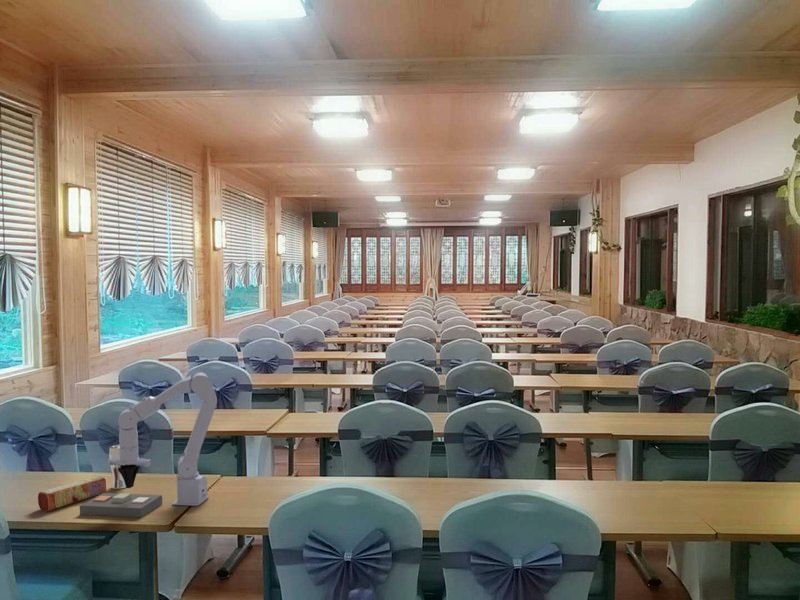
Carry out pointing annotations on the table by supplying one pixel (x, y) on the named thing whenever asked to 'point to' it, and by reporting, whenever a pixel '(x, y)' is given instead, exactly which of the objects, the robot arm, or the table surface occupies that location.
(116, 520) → the table surface
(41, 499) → the snack package
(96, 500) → the terracotta button
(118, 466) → the beer glass
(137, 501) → the off-white button
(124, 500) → the sage button
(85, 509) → the button panel
